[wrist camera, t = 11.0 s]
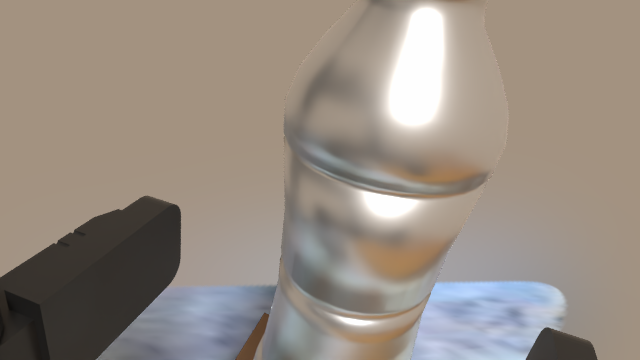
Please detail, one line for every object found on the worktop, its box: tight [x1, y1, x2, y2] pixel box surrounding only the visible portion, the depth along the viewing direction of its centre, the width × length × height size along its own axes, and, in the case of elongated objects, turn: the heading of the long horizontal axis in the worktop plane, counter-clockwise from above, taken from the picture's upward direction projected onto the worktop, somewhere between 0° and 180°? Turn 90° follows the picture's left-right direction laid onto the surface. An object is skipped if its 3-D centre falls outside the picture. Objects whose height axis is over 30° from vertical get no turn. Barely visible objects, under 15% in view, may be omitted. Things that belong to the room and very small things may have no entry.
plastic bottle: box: [253, 0, 509, 360], centre depth 15 cm, size 6×7×20 cm
